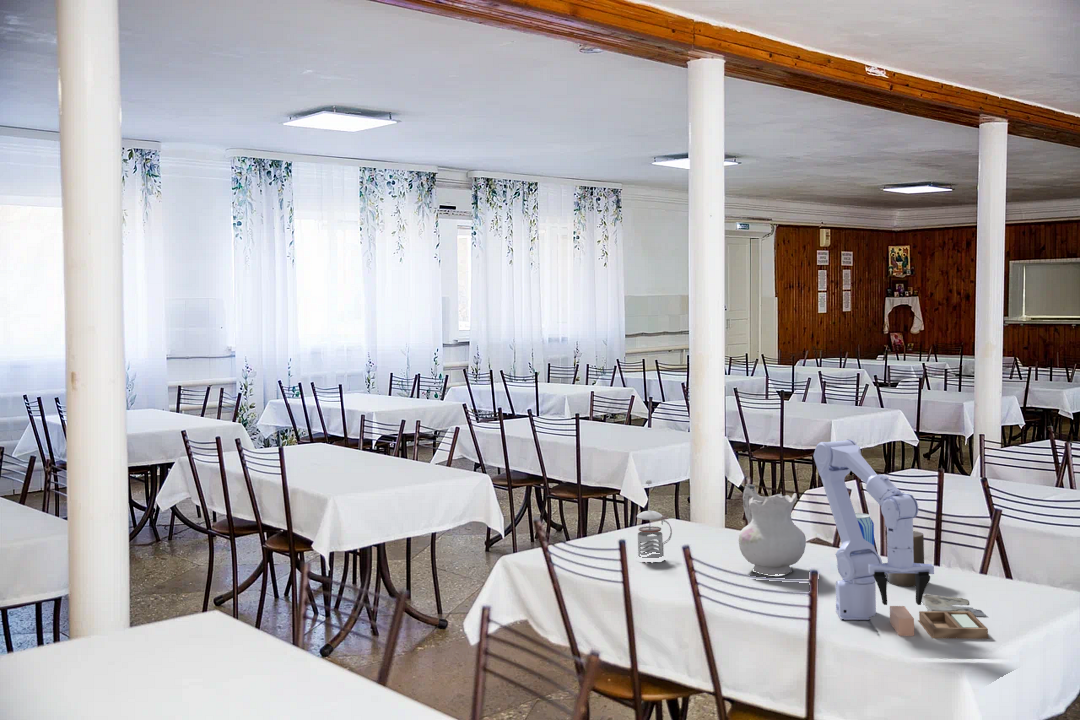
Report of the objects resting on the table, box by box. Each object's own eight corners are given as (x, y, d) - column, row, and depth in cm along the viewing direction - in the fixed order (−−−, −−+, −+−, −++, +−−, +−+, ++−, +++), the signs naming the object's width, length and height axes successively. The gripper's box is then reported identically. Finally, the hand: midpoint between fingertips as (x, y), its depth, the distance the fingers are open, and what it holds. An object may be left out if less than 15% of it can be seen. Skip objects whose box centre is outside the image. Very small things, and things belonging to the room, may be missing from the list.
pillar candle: (930, 586, 280) (929, 531, 280) (894, 587, 280) (893, 532, 280) (916, 577, 290) (916, 524, 289) (882, 578, 290) (881, 525, 289)
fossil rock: (918, 601, 269) (918, 592, 269) (979, 603, 266) (979, 594, 265) (929, 620, 252) (929, 611, 252) (994, 623, 248) (994, 613, 248)
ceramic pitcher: (720, 573, 305) (714, 491, 302) (760, 556, 317) (754, 477, 315) (781, 587, 288) (776, 500, 286) (820, 568, 301) (815, 485, 299)
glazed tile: (963, 635, 235) (963, 627, 235) (951, 622, 245) (951, 614, 245) (978, 636, 235) (978, 627, 235) (966, 622, 245) (966, 614, 245)
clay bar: (898, 639, 237) (898, 618, 237) (890, 626, 247) (889, 605, 247) (914, 639, 237) (913, 618, 236) (904, 626, 247) (904, 606, 246)
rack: (932, 641, 234) (931, 628, 234) (917, 623, 248) (917, 611, 248) (989, 642, 233) (989, 628, 233) (972, 623, 246) (972, 611, 246)
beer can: (880, 570, 298) (879, 516, 297) (857, 574, 295) (856, 519, 294) (861, 564, 306) (860, 511, 305) (838, 568, 303) (837, 514, 302)
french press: (634, 556, 326) (632, 477, 325) (670, 555, 325) (668, 476, 324) (635, 563, 316) (633, 482, 315) (673, 562, 315) (671, 481, 314)
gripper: (871, 550, 238) (873, 608, 238) (937, 550, 236) (938, 608, 237) (866, 543, 245) (867, 600, 245) (929, 543, 243) (930, 600, 244)
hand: (901, 603), depth 241 cm, fingers open, 7 cm apart
